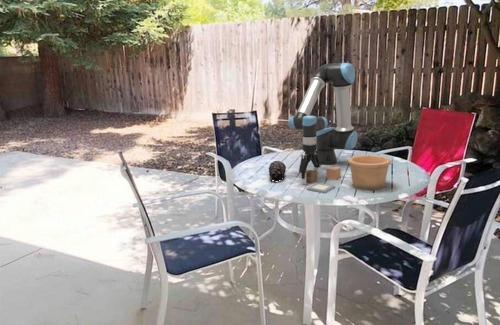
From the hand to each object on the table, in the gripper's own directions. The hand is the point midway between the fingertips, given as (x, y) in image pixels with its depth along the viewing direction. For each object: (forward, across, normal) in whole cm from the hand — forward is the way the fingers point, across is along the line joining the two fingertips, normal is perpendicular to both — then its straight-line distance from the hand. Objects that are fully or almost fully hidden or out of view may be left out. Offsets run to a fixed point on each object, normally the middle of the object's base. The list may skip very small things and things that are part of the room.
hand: (309, 181), depth 232 cm
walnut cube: (0, 0, 0) cm, 0 cm away
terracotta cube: (0, +13, -8) cm, 15 cm away
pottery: (0, +9, -31) cm, 32 cm away
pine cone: (+1, -4, +19) cm, 20 cm away
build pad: (0, -9, -12) cm, 15 cm away
